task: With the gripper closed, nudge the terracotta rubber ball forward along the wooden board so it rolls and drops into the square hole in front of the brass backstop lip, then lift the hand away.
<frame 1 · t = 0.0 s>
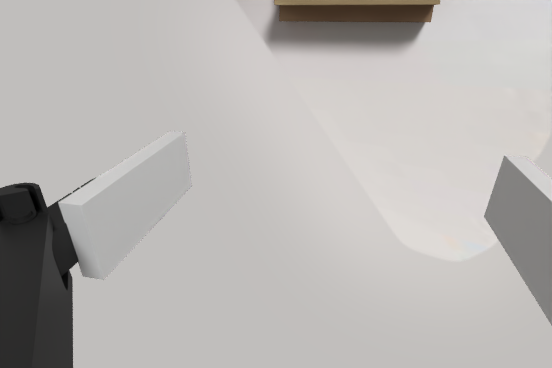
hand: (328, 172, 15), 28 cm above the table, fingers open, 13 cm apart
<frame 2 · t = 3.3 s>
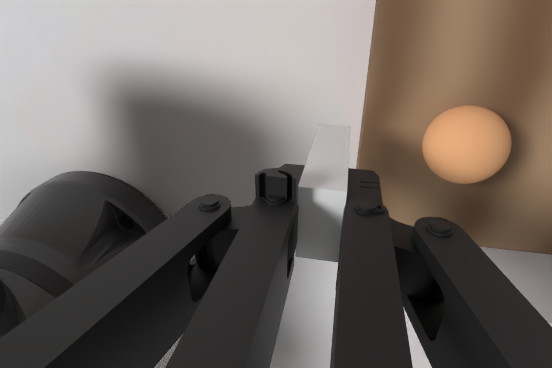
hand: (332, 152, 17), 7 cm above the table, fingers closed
wooden board: (550, 126, 20), on the table
ball: (464, 145, 17), point 4 cm above the table, touching wooden board
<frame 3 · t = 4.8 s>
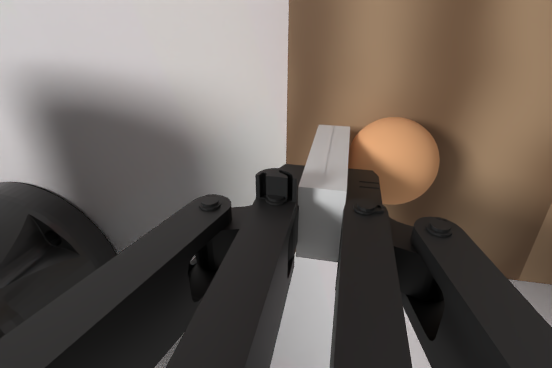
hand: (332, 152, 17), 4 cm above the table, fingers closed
wooden board: (492, 137, 19), on the table
ball: (391, 161, 16), point 4 cm above the table, touching wooden board
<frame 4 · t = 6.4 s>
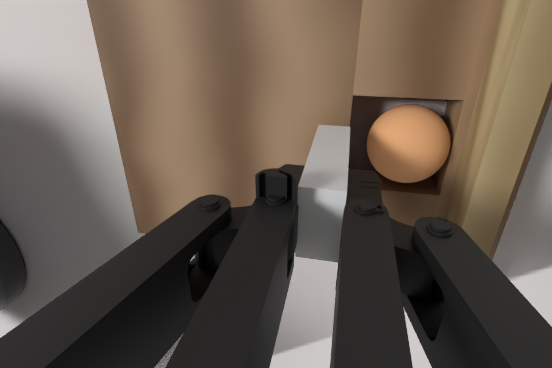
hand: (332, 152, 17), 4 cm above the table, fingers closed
wooden board: (305, 126, 20), on the table
ball: (406, 144, 17), point 2 cm above the table, tilted 31°
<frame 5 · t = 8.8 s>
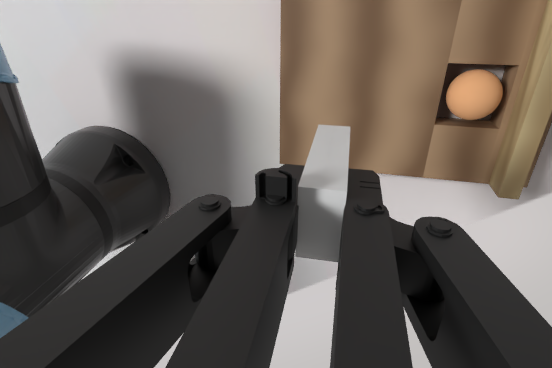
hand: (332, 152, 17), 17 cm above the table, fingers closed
wooden board: (405, 87, 30), on the table
ball: (473, 95, 28), point 2 cm above the table, tilted 18°
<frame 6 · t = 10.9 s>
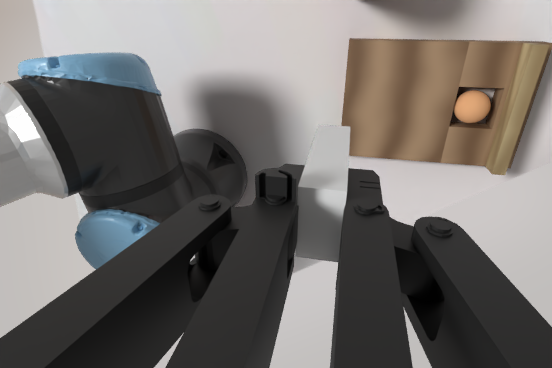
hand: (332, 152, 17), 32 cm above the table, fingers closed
wooden board: (428, 101, 45), on the table
ball: (471, 106, 42), point 2 cm above the table, tilted 7°
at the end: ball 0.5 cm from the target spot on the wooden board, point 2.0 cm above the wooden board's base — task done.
